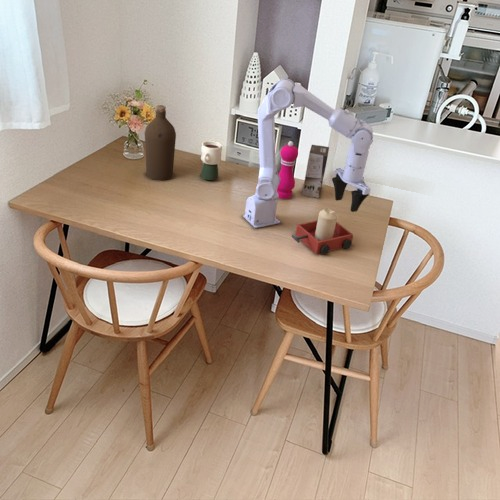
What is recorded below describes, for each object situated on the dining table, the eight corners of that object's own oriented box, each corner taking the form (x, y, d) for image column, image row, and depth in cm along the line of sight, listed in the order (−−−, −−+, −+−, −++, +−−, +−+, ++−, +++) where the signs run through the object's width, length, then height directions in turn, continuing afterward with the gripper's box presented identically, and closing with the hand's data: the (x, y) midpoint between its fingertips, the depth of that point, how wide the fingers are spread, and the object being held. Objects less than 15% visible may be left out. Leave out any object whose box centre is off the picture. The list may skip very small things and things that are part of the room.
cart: (316, 254, 157) (318, 242, 155) (295, 235, 165) (297, 224, 163) (350, 245, 163) (353, 234, 161) (328, 228, 171) (331, 217, 169)
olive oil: (180, 178, 191) (182, 109, 177) (153, 183, 185) (154, 113, 171) (165, 166, 197) (166, 100, 184) (139, 171, 191) (139, 103, 178)
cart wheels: (305, 259, 154) (307, 249, 152) (281, 236, 164) (282, 226, 162) (350, 248, 162) (353, 238, 160) (324, 226, 172) (326, 217, 170)
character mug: (207, 170, 198) (209, 137, 191) (224, 175, 196) (227, 142, 189) (193, 181, 190) (195, 146, 183) (211, 186, 188) (214, 151, 181)
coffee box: (319, 198, 189) (327, 156, 180) (301, 195, 189) (309, 152, 181) (321, 187, 196) (329, 146, 188) (304, 184, 197) (311, 143, 188)
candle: (335, 239, 164) (342, 211, 159) (325, 245, 161) (331, 216, 155) (321, 232, 167) (327, 204, 162) (310, 237, 164) (316, 209, 158)
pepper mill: (269, 196, 186) (277, 142, 175) (276, 188, 192) (284, 135, 181) (289, 201, 184) (298, 147, 173) (295, 193, 190) (304, 140, 179)
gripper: (382, 173, 153) (371, 214, 160) (350, 153, 163) (341, 193, 170) (363, 176, 149) (353, 218, 157) (332, 155, 160) (324, 196, 167)
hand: (346, 205), depth 163 cm, fingers open, 7 cm apart
